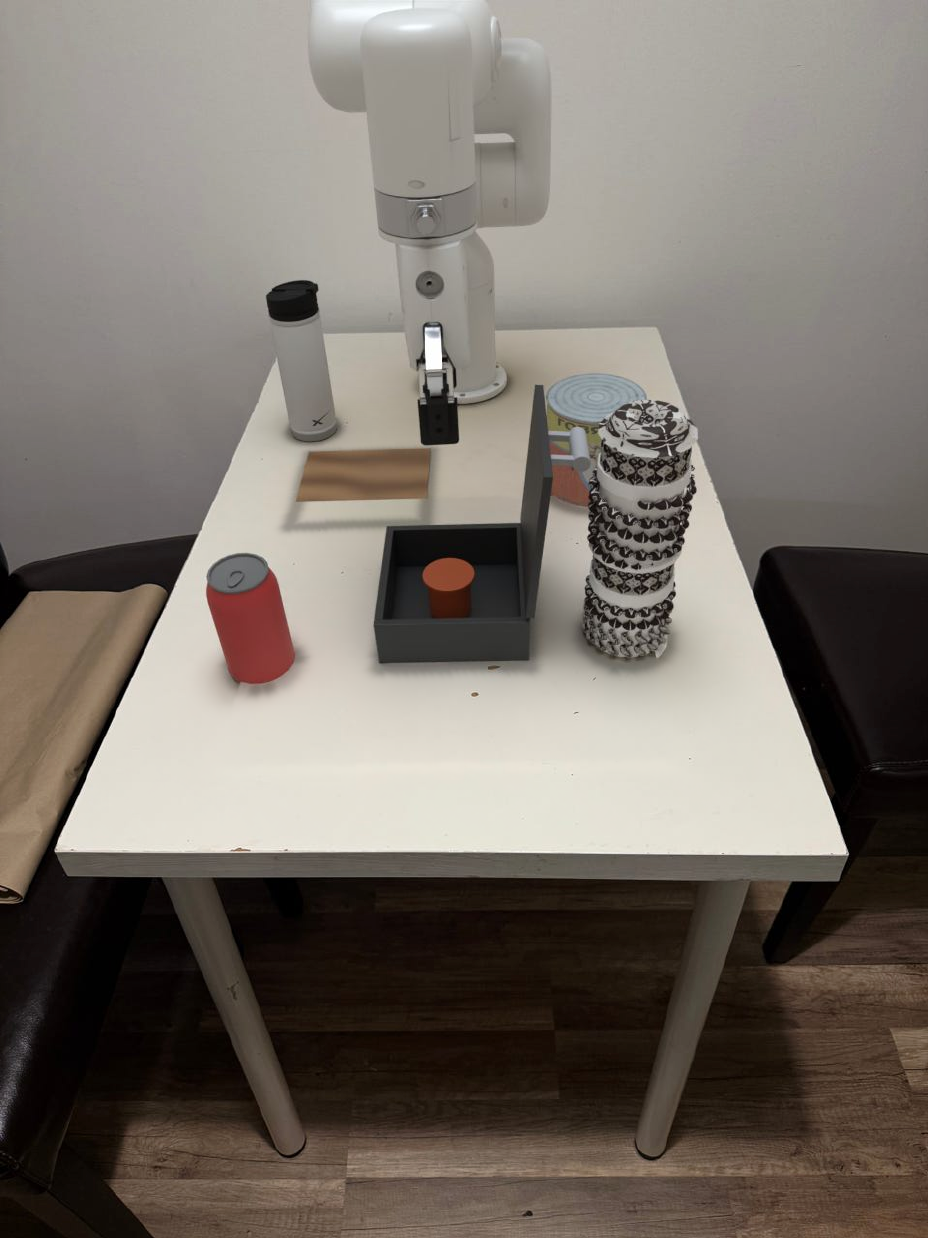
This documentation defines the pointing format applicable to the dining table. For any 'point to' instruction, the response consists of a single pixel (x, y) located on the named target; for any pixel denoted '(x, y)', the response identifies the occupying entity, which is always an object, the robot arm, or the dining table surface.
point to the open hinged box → (495, 594)
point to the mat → (365, 475)
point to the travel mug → (302, 359)
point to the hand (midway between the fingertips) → (439, 414)
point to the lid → (543, 489)
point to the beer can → (249, 618)
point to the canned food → (583, 424)
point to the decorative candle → (637, 526)
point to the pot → (449, 587)
